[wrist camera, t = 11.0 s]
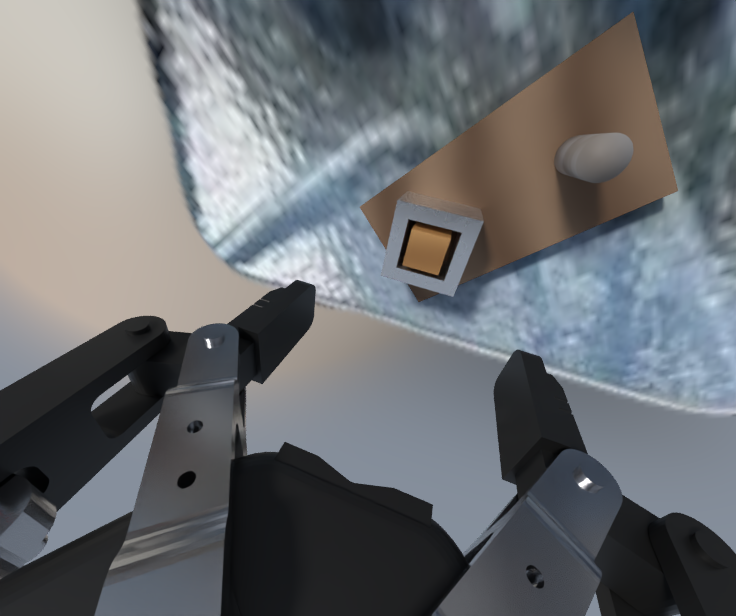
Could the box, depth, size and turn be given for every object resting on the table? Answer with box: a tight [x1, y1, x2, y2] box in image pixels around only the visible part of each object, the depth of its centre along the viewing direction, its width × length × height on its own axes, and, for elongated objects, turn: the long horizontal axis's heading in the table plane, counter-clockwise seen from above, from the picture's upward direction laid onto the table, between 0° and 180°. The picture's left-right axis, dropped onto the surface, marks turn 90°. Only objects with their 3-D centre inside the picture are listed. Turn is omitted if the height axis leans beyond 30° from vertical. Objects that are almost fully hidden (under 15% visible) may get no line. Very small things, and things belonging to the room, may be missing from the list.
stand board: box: [360, 12, 678, 302], centre depth 19 cm, size 18×10×6 cm, turn 125°
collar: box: [381, 191, 484, 297], centre depth 21 cm, size 6×6×4 cm
